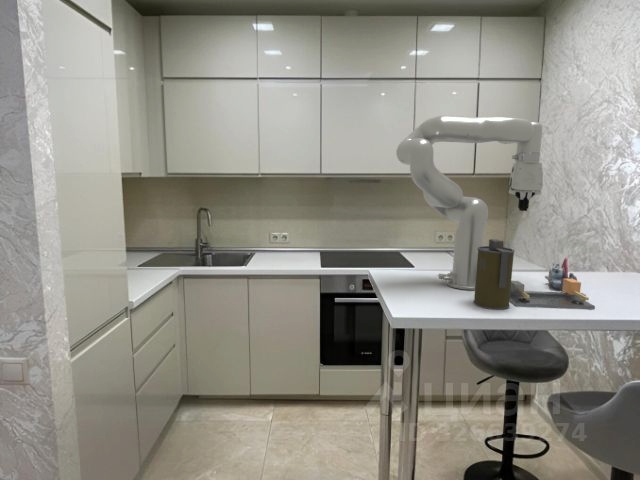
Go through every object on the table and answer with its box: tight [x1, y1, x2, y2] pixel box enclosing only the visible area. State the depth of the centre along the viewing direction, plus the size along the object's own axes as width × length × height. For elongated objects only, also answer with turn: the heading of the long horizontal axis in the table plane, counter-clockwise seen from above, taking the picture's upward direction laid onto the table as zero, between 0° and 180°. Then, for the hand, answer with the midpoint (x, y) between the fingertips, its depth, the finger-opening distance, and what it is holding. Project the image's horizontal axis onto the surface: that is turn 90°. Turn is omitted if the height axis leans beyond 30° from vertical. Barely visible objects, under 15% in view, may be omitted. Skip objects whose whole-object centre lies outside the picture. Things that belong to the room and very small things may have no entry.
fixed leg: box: [510, 280, 530, 300], centre depth 135 cm, size 3×12×4 cm, turn 176°
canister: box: [473, 238, 515, 311], centre depth 129 cm, size 11×10×20 cm
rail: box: [510, 290, 587, 301], centre depth 138 cm, size 24×2×2 cm, turn 86°
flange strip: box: [509, 298, 596, 310], centre depth 132 cm, size 23×6×1 cm, turn 86°
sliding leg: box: [561, 279, 590, 302], centre depth 134 cm, size 3×12×5 cm, turn 176°
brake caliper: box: [544, 257, 578, 292], centre depth 152 cm, size 11×11×12 cm
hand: (522, 210), depth 153 cm, fingers closed
